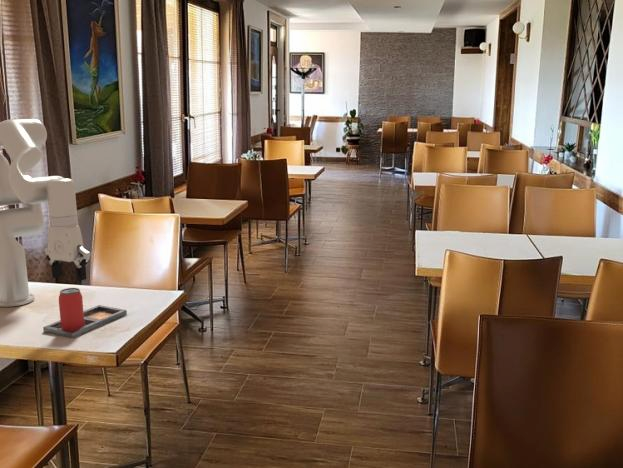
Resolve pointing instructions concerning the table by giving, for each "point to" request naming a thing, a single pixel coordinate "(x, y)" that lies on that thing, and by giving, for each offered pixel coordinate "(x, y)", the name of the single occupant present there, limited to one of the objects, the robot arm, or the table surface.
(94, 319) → the gray rectangular frame
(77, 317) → the beer can
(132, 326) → the table surface
